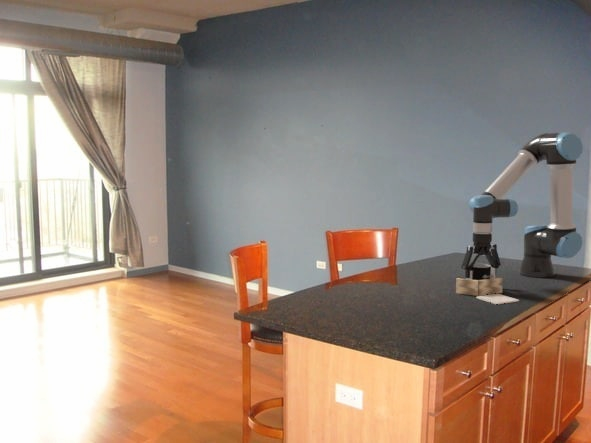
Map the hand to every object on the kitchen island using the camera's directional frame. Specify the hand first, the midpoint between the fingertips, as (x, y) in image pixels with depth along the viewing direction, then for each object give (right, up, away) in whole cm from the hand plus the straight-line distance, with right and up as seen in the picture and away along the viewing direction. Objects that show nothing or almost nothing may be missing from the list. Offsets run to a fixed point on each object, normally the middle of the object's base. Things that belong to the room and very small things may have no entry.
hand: (480, 284), depth 239 cm
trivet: (+1, -4, -18) cm, 18 cm away
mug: (0, -2, 0) cm, 2 cm away
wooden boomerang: (-3, -3, -7) cm, 8 cm away
